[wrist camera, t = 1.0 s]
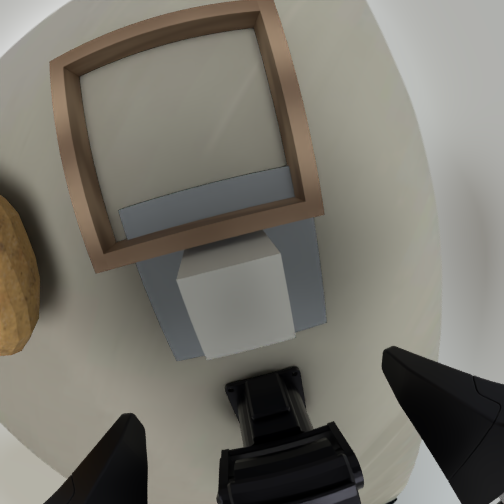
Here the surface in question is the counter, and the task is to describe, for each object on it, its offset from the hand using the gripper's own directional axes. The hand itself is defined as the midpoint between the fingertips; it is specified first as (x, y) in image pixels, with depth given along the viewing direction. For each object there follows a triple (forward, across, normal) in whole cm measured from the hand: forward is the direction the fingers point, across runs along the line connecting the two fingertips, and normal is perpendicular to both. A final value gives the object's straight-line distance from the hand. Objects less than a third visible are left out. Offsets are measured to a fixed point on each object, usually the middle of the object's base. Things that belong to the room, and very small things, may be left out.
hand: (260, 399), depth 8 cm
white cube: (+11, 0, 0) cm, 11 cm away
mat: (+11, 0, 0) cm, 11 cm away
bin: (+11, +1, -10) cm, 15 cm away
